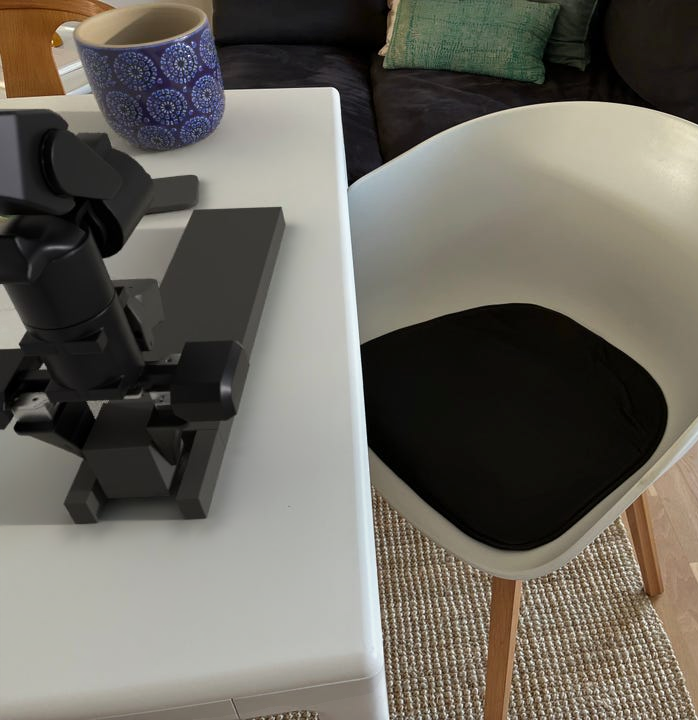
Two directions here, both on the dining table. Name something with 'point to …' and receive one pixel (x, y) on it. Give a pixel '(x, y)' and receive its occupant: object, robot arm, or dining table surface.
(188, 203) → the phone
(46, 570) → the dining table surface
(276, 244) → the base pad
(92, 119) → the dining table surface
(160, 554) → the dining table surface
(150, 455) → the pad block
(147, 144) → the planter
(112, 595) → the dining table surface
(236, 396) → the robot arm
